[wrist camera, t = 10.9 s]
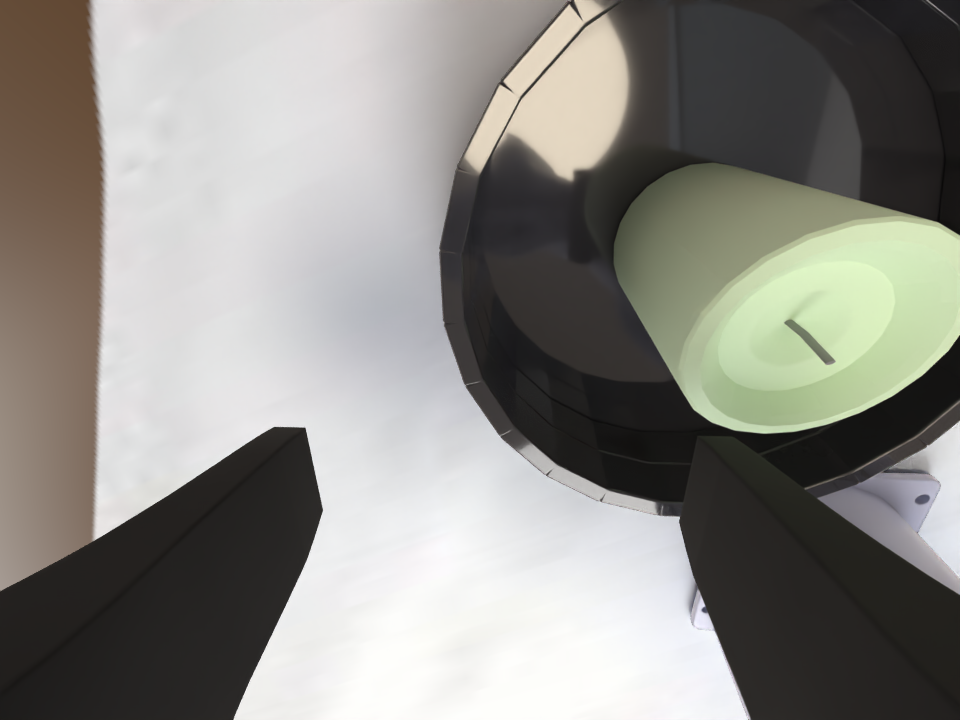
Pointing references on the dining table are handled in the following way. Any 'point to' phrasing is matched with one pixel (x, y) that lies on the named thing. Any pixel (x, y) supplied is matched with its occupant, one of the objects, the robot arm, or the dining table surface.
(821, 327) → the candle
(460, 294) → the pan
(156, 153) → the dining table surface
